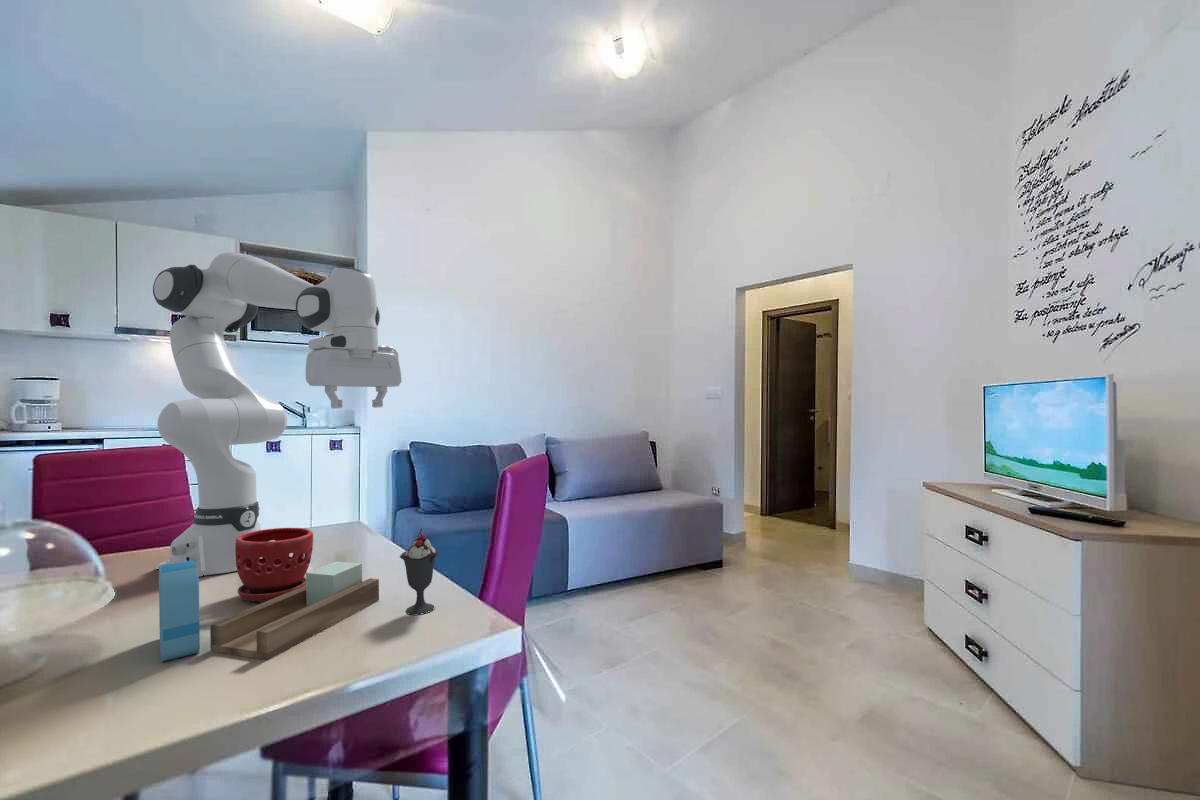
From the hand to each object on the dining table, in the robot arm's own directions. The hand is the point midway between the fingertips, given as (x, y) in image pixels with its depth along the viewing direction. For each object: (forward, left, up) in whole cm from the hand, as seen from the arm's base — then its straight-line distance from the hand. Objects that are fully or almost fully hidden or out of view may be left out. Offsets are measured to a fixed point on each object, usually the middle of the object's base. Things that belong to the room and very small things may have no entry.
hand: (357, 407), depth 114 cm
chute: (+7, -22, -36) cm, 43 cm away
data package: (-5, -34, -37) cm, 50 cm away
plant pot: (-10, -12, -37) cm, 40 cm away
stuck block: (+7, -15, -35) cm, 39 cm away
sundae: (+23, -12, -37) cm, 45 cm away
